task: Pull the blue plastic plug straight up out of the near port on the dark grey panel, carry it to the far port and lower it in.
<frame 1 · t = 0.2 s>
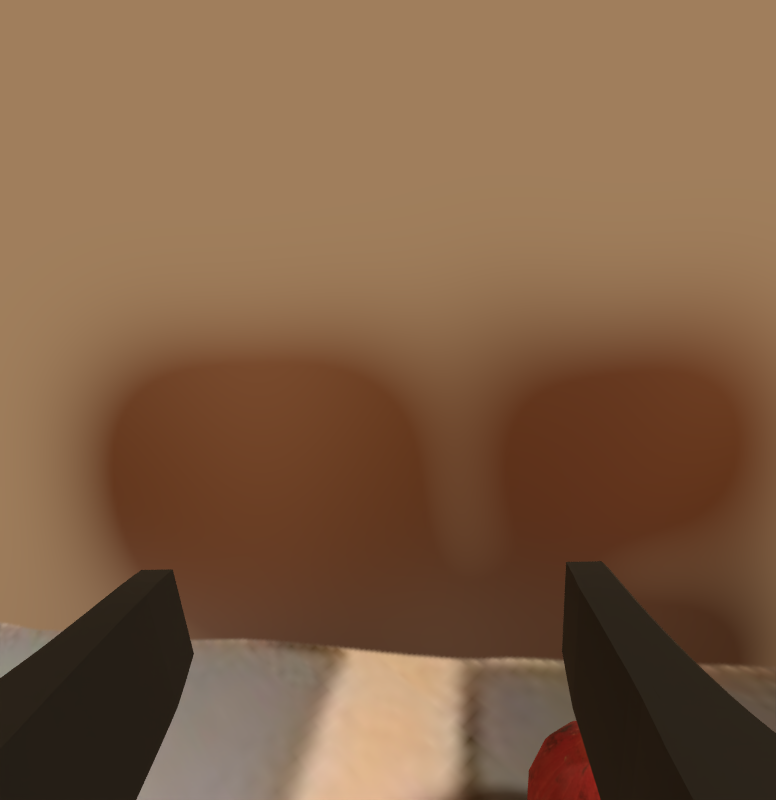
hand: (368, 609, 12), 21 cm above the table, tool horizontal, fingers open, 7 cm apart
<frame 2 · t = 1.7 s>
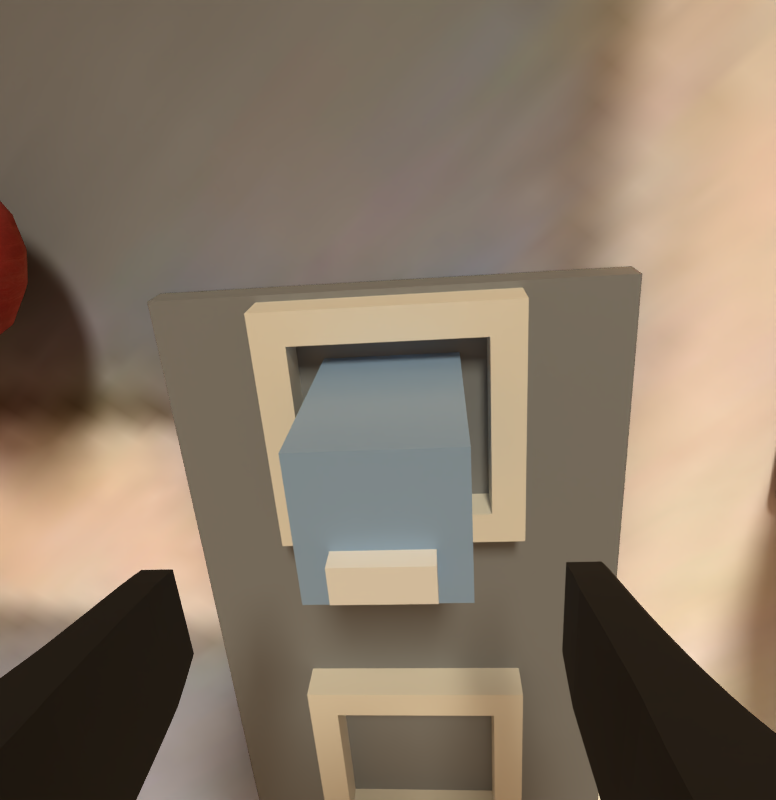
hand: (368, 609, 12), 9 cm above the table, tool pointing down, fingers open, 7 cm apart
plug: (395, 417, 19), point 1 cm above the table, touching panel
panel: (410, 580, 23), on the table
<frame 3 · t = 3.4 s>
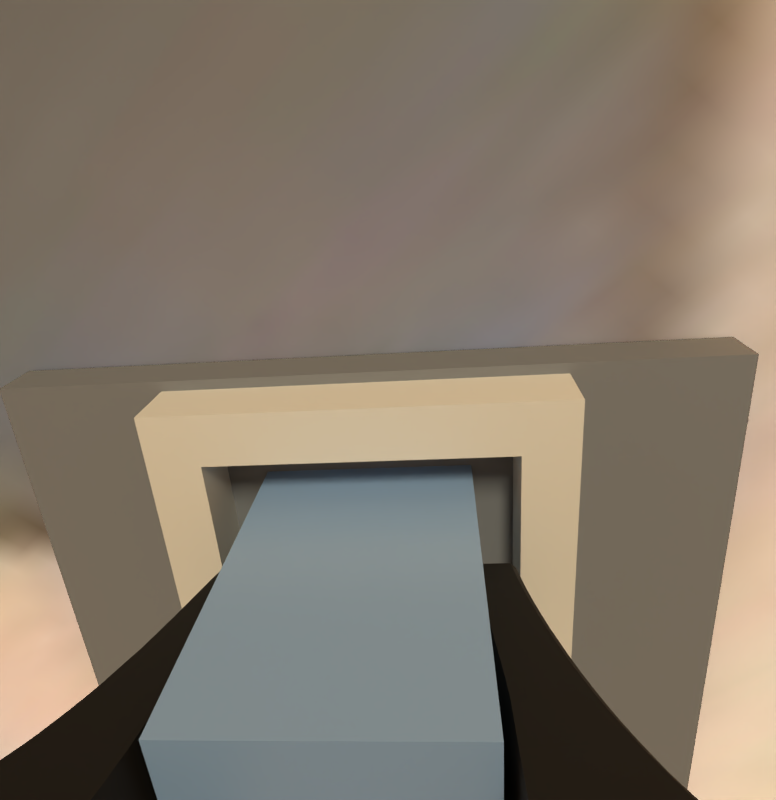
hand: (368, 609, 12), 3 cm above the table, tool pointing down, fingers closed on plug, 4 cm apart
plug: (376, 552, 13), point 1 cm above the table, touching gripper, panel
panel: (400, 747, 17), on the table
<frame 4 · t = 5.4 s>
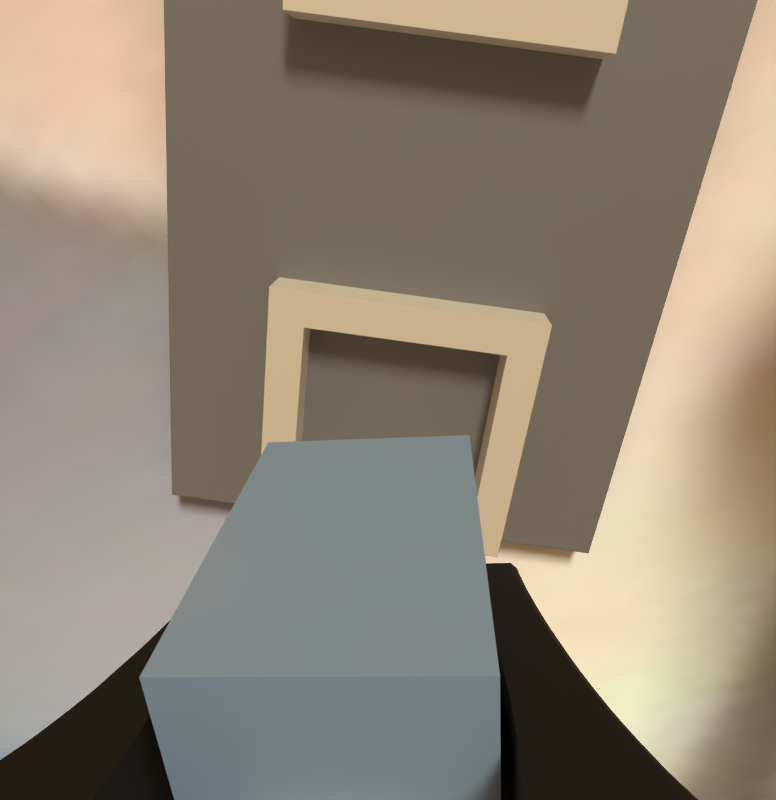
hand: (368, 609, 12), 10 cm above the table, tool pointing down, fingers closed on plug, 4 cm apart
plug: (375, 525, 13), point 8 cm above the table, touching gripper
panel: (428, 174, 18), on the table
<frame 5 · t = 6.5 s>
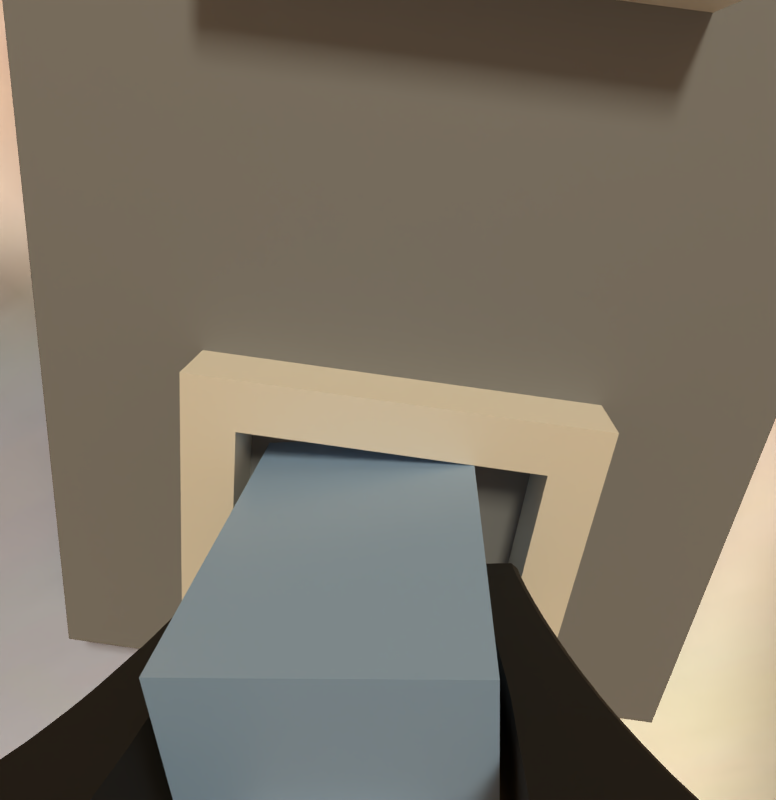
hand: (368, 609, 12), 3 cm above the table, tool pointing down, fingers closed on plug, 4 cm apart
plug: (376, 526, 13), point 1 cm above the table, touching gripper
panel: (426, 196, 12), on the table
when the fingers open (3 cm above the table, at t = 7.3 s): plug stays where it is, resting on panel.
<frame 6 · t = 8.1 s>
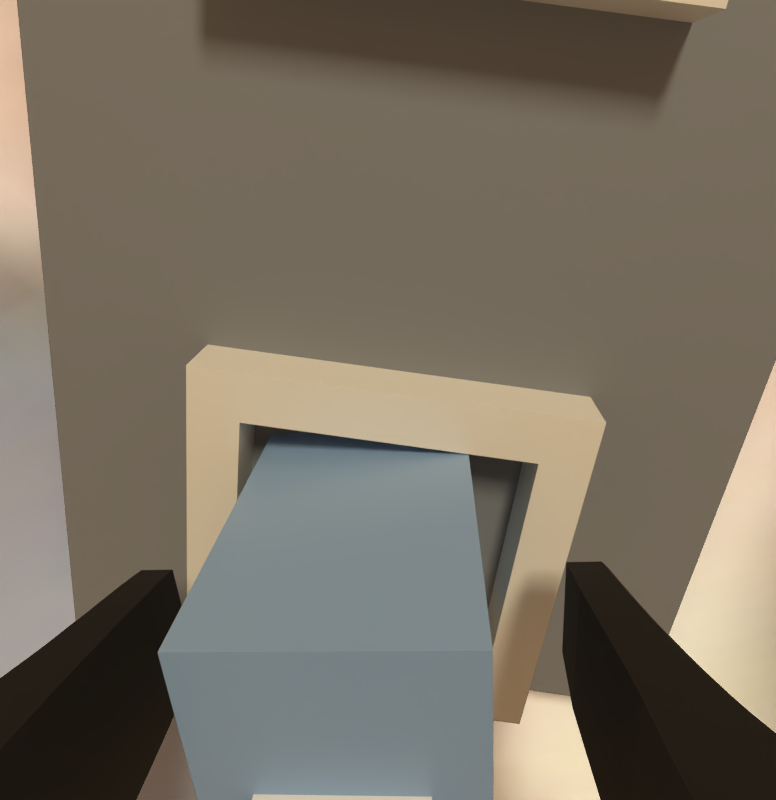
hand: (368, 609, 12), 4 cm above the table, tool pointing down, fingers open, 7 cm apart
plug: (374, 513, 14), point 1 cm above the table, touching panel
panel: (422, 197, 12), on the table
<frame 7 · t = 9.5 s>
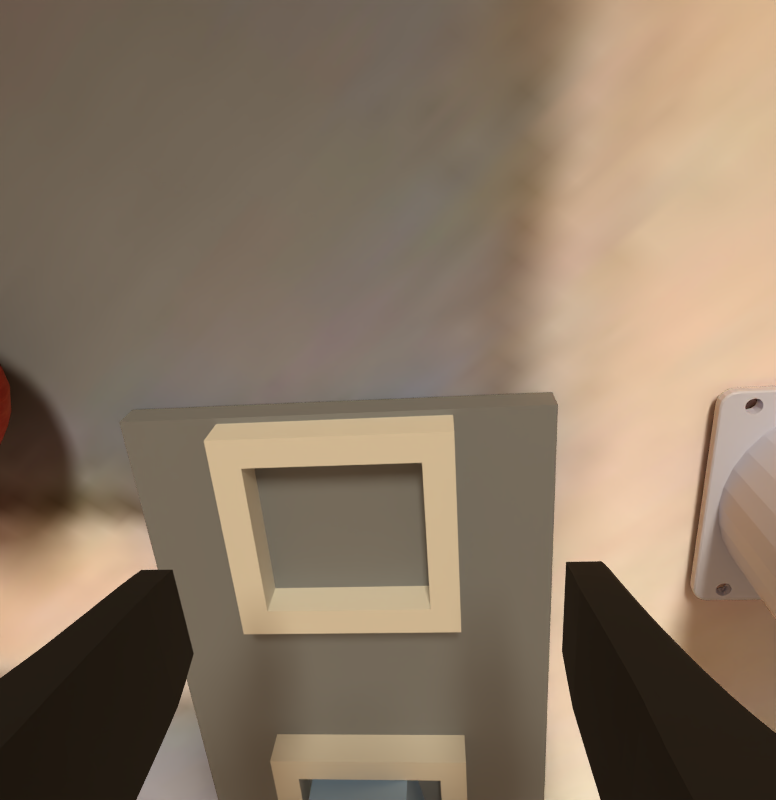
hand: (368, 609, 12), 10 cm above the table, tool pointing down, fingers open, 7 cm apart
plug: (374, 791, 27), point 1 cm above the table, touching panel
panel: (365, 655, 25), on the table
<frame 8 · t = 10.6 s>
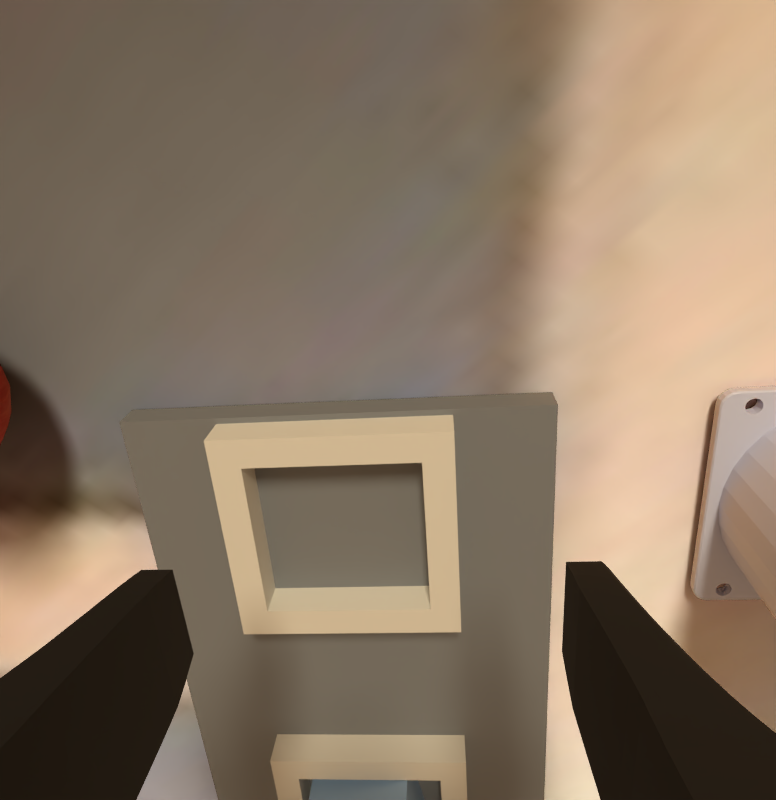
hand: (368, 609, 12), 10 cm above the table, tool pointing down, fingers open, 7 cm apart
plug: (374, 791, 27), point 1 cm above the table, touching panel
panel: (365, 655, 25), on the table
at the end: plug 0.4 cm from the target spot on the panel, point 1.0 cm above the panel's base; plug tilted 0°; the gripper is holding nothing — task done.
